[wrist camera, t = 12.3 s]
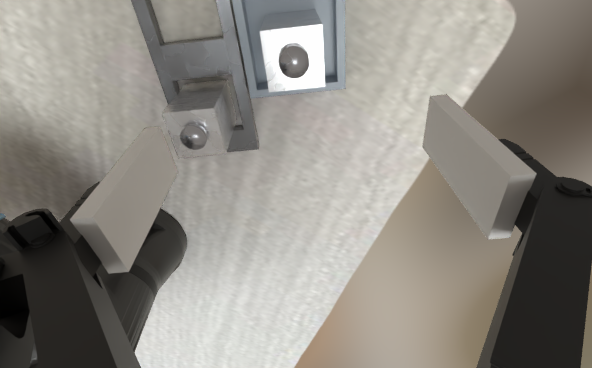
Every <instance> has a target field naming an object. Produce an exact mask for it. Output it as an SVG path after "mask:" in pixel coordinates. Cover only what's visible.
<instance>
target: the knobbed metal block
mask: <svg viewBox="0 0 592 368" xmlns="http://www.w3.org/2000/svg"><path fill="white" fill-rule="evenodd" d="M260 37H261V43H262V50H263V56H264V63H265V69H266V76H267V82H268V89H269V92H277V91H287V90H297V89H306V88H316V87H325V72H324V49H323V27H322V22H321V20H320V18H319V16H318V14H317V12H316V9H311V10H302V11H293V12H285V13H276V14H267V15H266V16H265V18H264V21H263V24H262V26H261V29H260Z"/></svg>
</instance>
